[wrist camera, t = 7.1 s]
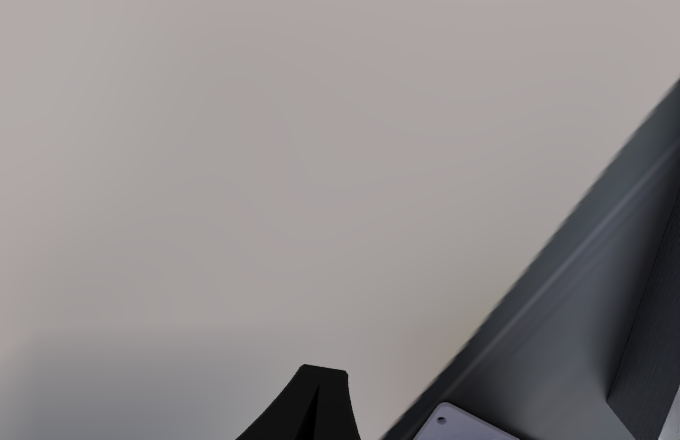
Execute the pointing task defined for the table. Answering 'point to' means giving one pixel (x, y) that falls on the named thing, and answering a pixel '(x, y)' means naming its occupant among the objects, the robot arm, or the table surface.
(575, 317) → the table surface
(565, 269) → the table surface
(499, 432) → the robot arm
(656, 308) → the panel
